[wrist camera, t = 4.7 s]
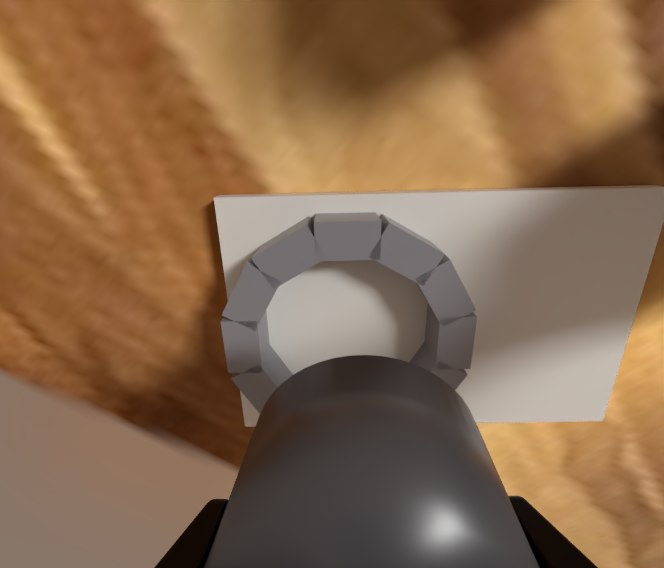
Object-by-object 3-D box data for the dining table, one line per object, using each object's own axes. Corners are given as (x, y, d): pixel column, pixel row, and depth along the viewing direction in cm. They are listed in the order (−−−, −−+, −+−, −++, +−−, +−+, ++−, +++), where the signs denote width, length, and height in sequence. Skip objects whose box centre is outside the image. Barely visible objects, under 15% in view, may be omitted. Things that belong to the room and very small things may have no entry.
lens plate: (653, 184, 15) (725, 192, 13) (589, 408, 20) (632, 451, 17) (220, 194, 16) (196, 204, 13) (249, 413, 20) (235, 456, 17)
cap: (494, 357, 8) (620, 546, 4) (464, 532, 10) (531, 766, 6) (244, 352, 9) (151, 521, 5) (264, 522, 11) (212, 736, 7)
